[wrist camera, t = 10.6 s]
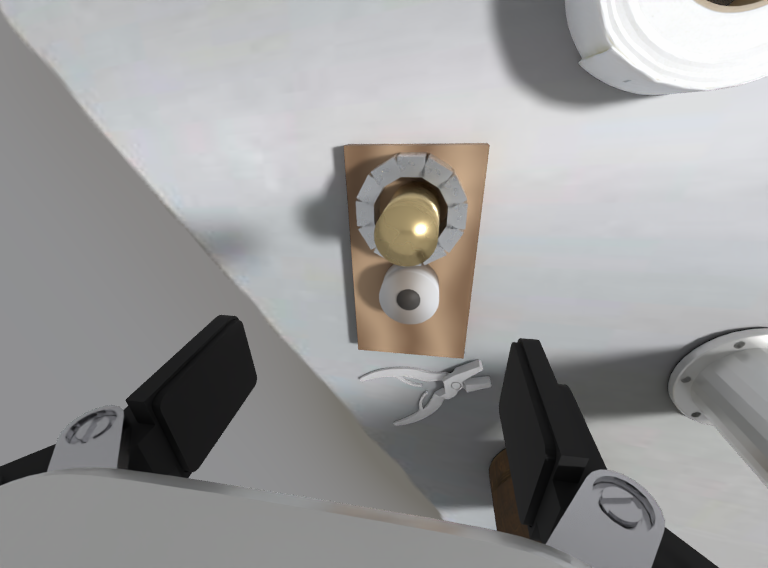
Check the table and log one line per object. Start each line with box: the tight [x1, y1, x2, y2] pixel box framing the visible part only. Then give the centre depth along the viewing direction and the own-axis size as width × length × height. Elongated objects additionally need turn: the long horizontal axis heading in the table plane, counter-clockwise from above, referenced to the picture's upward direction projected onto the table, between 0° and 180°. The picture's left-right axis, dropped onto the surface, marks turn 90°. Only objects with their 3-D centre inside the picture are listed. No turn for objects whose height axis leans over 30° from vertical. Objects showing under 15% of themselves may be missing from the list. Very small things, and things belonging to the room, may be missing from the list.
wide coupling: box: [356, 152, 468, 266], centre depth 28 cm, size 9×9×3 cm
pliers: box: [360, 359, 491, 426], centre depth 41 cm, size 10×2×15 cm
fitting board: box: [344, 143, 490, 358], centre depth 31 cm, size 12×22×5 cm, turn 1°
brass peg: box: [374, 181, 440, 267], centre depth 26 cm, size 4×4×8 cm
